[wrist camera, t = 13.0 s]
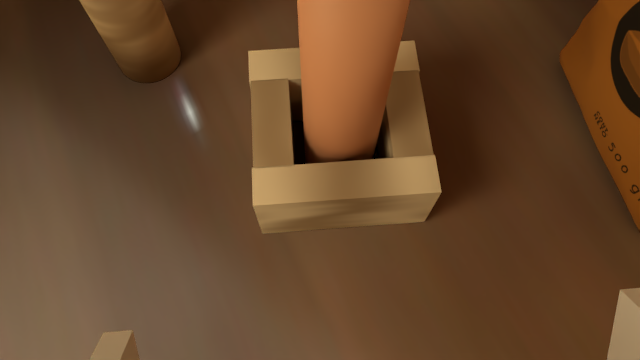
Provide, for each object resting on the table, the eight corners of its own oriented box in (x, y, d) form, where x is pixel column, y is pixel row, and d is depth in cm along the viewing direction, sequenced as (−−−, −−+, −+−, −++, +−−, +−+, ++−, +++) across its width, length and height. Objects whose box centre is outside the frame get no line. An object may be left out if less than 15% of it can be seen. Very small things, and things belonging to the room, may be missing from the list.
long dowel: (307, 191, 26) (298, -5, 14) (302, 129, 28) (290, -102, 15) (376, 185, 27) (432, -14, 14) (368, 125, 28) (411, -109, 15)
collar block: (262, 233, 26) (252, 205, 22) (257, 95, 29) (248, 51, 25) (424, 221, 26) (441, 192, 22) (402, 86, 29) (414, 40, 25)
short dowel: (116, 84, 29) (58, -6, 22) (121, 33, 30) (67, -66, 24) (180, 81, 29) (140, -11, 23) (181, 30, 30) (144, -70, 24)
